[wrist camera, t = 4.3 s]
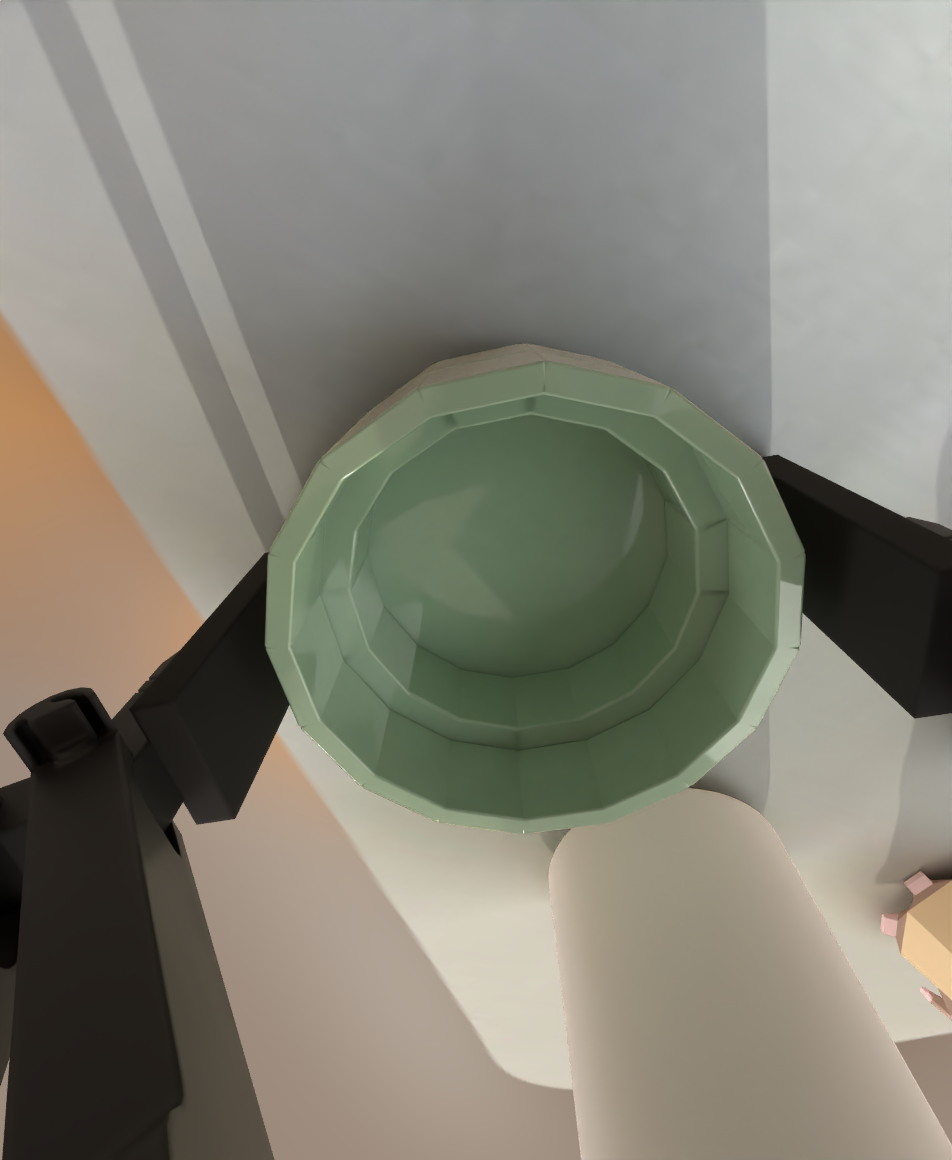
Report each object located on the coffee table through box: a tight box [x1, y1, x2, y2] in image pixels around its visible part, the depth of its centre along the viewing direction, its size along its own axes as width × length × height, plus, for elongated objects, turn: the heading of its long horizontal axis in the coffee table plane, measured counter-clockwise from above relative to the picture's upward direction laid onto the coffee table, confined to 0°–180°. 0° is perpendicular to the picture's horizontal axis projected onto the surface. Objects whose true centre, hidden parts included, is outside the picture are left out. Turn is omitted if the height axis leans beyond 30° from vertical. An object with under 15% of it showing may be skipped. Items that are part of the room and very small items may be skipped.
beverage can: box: [548, 788, 952, 1160], centre depth 15 cm, size 8×8×12 cm
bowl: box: [265, 343, 806, 834], centre depth 13 cm, size 10×10×5 cm
